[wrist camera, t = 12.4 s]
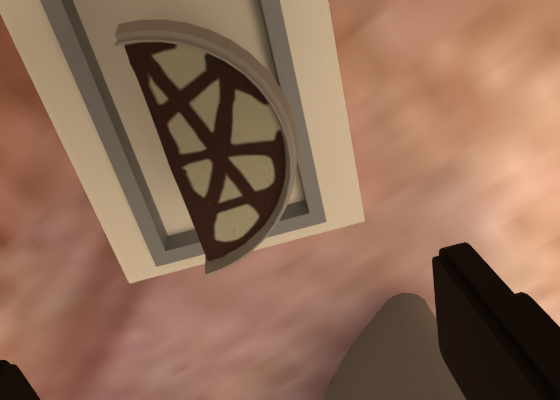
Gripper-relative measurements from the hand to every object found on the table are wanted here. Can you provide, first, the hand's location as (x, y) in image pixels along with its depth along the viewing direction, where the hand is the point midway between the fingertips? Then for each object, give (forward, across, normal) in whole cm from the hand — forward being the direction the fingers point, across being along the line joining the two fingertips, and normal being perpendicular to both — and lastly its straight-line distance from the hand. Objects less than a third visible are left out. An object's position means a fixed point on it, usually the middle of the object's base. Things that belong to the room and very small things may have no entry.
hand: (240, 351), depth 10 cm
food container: (+21, 0, 0) cm, 21 cm away
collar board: (+22, +2, 0) cm, 22 cm away
